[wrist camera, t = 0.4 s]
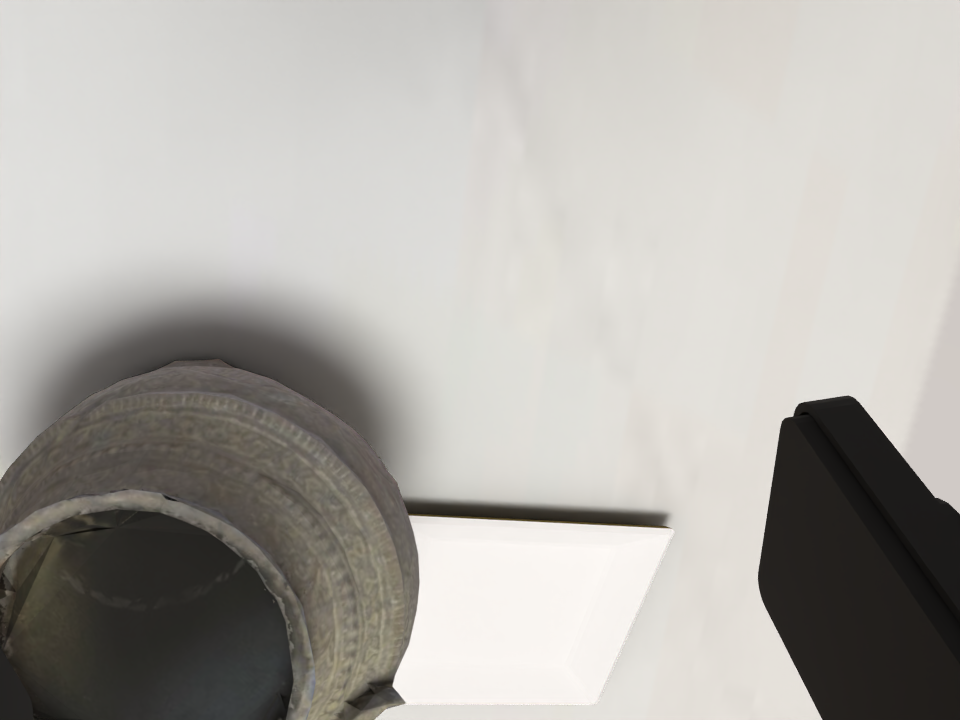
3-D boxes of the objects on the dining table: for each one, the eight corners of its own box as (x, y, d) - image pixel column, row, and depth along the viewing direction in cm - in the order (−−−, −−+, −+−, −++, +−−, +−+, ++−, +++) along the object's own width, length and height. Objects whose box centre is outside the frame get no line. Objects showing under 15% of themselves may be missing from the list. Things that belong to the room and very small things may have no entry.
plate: (387, 493, 56) (388, 517, 55) (667, 508, 61) (677, 531, 59) (349, 681, 67) (350, 707, 65) (591, 683, 71) (598, 707, 69)
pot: (374, 580, 60) (400, 1021, 40) (34, 565, 56) (-130, 1058, 35) (434, 318, 49) (512, 747, 29) (16, 270, 44) (-241, 746, 24)
